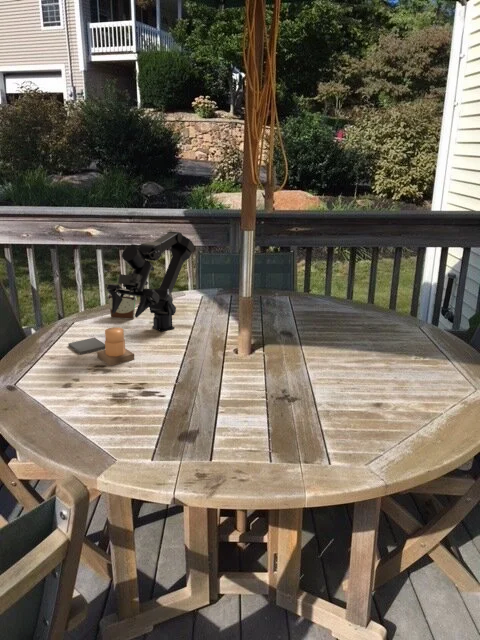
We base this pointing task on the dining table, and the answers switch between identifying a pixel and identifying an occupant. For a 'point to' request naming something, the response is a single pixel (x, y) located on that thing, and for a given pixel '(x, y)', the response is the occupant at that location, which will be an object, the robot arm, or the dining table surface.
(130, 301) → the food container
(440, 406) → the dining table surface
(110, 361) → the post stand
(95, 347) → the mat
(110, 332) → the orange rounded bulb shape
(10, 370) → the dining table surface
